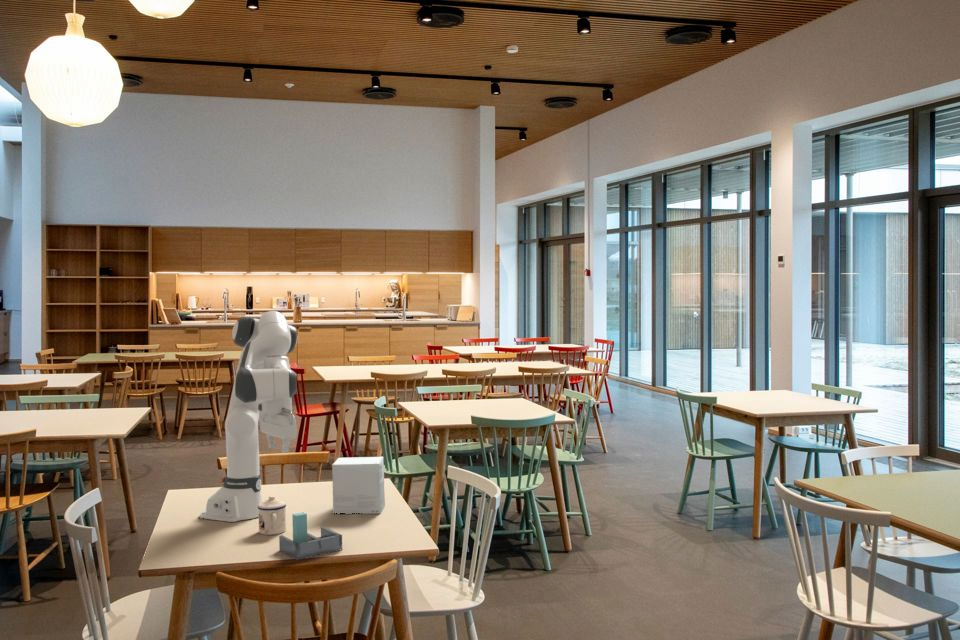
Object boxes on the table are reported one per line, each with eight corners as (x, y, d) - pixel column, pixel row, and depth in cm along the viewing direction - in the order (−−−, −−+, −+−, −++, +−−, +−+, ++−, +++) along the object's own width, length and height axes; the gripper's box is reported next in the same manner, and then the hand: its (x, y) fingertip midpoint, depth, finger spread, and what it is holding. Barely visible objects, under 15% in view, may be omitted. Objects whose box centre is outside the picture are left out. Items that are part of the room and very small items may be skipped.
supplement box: (385, 504, 302) (384, 456, 301) (380, 514, 289) (380, 463, 288) (339, 505, 302) (338, 456, 302) (332, 514, 289) (331, 464, 288)
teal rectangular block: (293, 547, 247) (292, 514, 246) (303, 544, 249) (303, 512, 249) (296, 549, 245) (296, 516, 245) (307, 546, 247) (306, 513, 247)
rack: (279, 550, 250) (278, 535, 249) (323, 540, 259) (323, 526, 259) (296, 560, 240) (296, 545, 240) (342, 549, 249) (342, 535, 249)
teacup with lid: (257, 529, 272) (256, 494, 272) (284, 526, 275) (284, 492, 275) (260, 539, 261) (259, 503, 260) (289, 536, 264) (288, 500, 264)
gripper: (301, 409, 250) (302, 453, 251) (273, 402, 266) (274, 444, 267) (282, 411, 246) (283, 456, 247) (255, 404, 262) (256, 447, 263)
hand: (278, 450), depth 257 cm, fingers open, 8 cm apart
